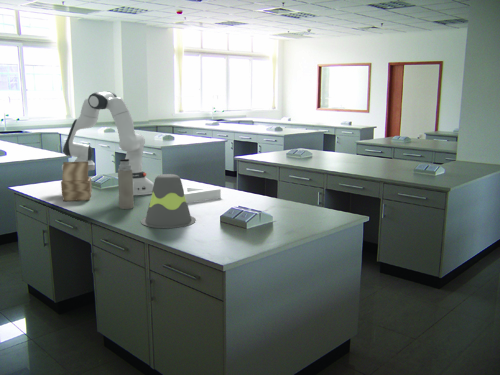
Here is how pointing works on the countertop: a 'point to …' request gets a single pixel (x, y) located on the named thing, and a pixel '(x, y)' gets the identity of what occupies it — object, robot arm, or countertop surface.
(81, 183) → the carton
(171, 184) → the grey tapered cylinder
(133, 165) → the robot arm
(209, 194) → the triangular ruler
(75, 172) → the carton flap
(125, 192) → the thermos bottle
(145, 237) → the countertop surface
